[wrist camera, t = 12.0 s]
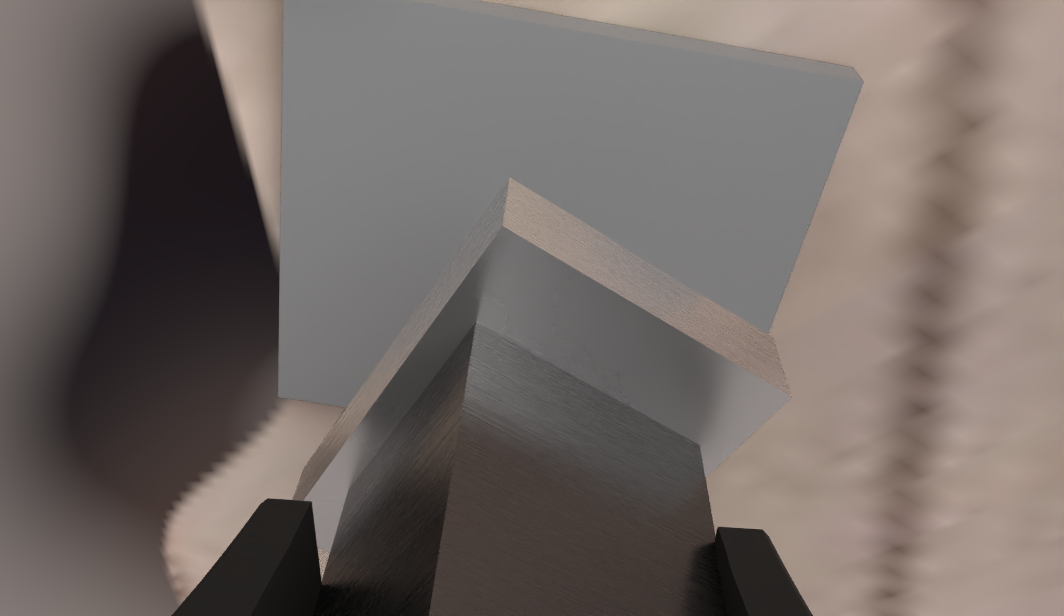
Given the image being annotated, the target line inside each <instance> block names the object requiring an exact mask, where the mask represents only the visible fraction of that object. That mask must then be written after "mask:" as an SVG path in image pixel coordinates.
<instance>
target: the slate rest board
mask: <svg viewBox="0 0 1064 616" xmlns="http://www.w3.org/2000/svg"><path fill="white" fill-rule="evenodd" d="M863 82H864V81H863V80H862V78H861V77H860V76H859V74H858V73H857V72H856V71H855V69H854V68H853V67H848V66H842V65H837V64H831V63H825V62H820V61H814V60H809V59H803V58H797V57H792V56H786V55H781V54H775V53H770V52H764V51H758V50H753V49H747V48H742V47H736V46H730V45H725V44H719V43H714V42H708V41H702V40H697V39H691V38H686V37H680V36H674V35H669V34H663V33H658V32H652V31H646V30H641V29H635V28H630V27H624V26H618V25H613V24H607V23H602V22H596V21H590V20H585V19H579V18H574V17H568V16H562V15H557V14H551V13H546V12H540V11H534V10H529V9H523V8H518V7H512V6H506V5H501V4H495V3H490V2H484V1H479V0H283V60H282V136H281V213H280V291H279V292H280V293H279V367H278V368H279V369H278V375H279V376H278V397H280V398H286V399H293V400H300V401H306V402H313V403H319V404H326V405H333V406H339V407H346V408H347V407H348V405H349V404H350V402H351V401H352V399H353V398H354V397H355V395H356V394H357V392H358V391H359V390H360V388H361V387H362V385H363V384H364V382H365V381H366V380H367V378H368V377H369V375H370V374H371V373H372V371H373V370H374V368H375V367H376V365H377V364H378V363H379V361H380V360H381V358H382V357H383V356H384V354H385V353H386V351H387V350H388V348H389V347H390V346H391V344H392V343H393V341H394V340H395V339H396V337H397V336H398V334H399V333H400V331H401V330H402V329H403V327H404V326H405V324H406V323H407V322H408V320H409V319H410V317H411V316H412V314H413V313H414V312H415V310H416V309H417V307H418V306H419V305H420V303H421V302H422V300H423V299H424V298H425V296H426V295H427V293H428V292H429V290H430V289H431V288H432V286H433V285H434V283H435V282H436V281H437V279H438V278H439V276H440V275H441V273H442V272H443V271H444V269H445V268H446V266H447V265H448V264H449V262H450V261H451V259H452V258H453V256H454V255H455V254H456V252H457V251H458V249H459V248H460V247H461V245H462V244H463V242H464V241H465V239H466V238H467V237H468V235H469V234H470V232H471V231H472V230H473V228H474V227H475V225H476V224H477V222H478V221H479V220H480V218H481V217H482V215H483V214H484V213H485V211H486V210H487V208H488V207H489V205H490V204H491V203H492V201H493V200H494V198H495V197H496V196H497V194H498V193H499V191H500V190H501V188H502V187H503V186H504V184H505V183H506V181H507V180H508V179H509V177H510V178H512V179H513V180H515V181H517V182H518V183H520V184H522V185H523V186H525V187H527V188H528V189H530V190H532V191H533V192H535V193H536V194H538V195H540V196H541V197H543V198H545V199H546V200H548V201H550V202H551V203H553V204H554V205H556V206H558V207H559V208H561V209H563V210H564V211H566V212H568V213H569V214H571V215H573V216H574V217H576V218H577V219H579V220H581V221H582V222H584V223H586V224H587V225H589V226H591V227H592V228H594V229H595V230H597V231H599V232H600V233H602V234H604V235H605V236H607V237H609V238H610V239H612V240H614V241H615V242H617V243H618V244H620V245H622V246H623V247H625V248H627V249H628V250H630V251H632V252H633V253H635V254H636V255H638V256H640V257H641V258H643V259H645V260H646V261H648V262H650V263H651V264H653V265H655V266H656V267H658V268H659V269H661V270H663V271H664V272H666V273H668V274H669V275H671V276H673V277H674V278H676V279H677V280H679V281H681V282H682V283H684V284H686V285H687V286H689V287H691V288H692V289H694V290H696V291H697V292H699V293H700V294H702V295H704V296H705V297H707V298H709V299H710V300H712V301H714V302H715V303H717V304H718V305H720V306H722V307H723V308H725V309H727V310H728V311H730V312H732V313H733V314H735V315H737V316H738V317H740V318H741V319H743V320H745V321H746V322H748V323H750V324H751V325H753V326H755V327H756V328H758V329H759V330H761V331H763V332H764V333H766V334H768V333H769V330H770V328H771V325H772V322H773V320H774V317H775V314H776V312H777V309H778V306H779V304H780V301H781V299H782V296H783V293H784V291H785V288H786V285H787V283H788V280H789V277H790V275H791V272H792V270H793V267H794V264H795V262H796V259H797V256H798V254H799V251H800V248H801V246H802V243H803V240H804V238H805V235H806V233H807V230H808V227H809V225H810V222H811V219H812V217H813V214H814V211H815V209H816V206H817V204H818V201H819V198H820V196H821V193H822V190H823V188H824V185H825V182H826V180H827V177H828V174H829V172H830V169H831V167H832V164H833V161H834V159H835V156H836V153H837V151H838V148H839V145H840V143H841V140H842V138H843V135H844V132H845V130H846V127H847V124H848V122H849V119H850V116H851V114H852V111H853V109H854V106H855V103H856V101H857V98H858V95H859V93H860V90H861V87H862V85H863Z"/></svg>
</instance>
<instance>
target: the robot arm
mask: <svg viewBox="0 0 1064 616" xmlns="http://www.w3.org/2000/svg"><path fill="white" fill-rule="evenodd" d="M715 548H716V554H717V560H718V566H719V572H720V578H721V584H722V590H723V596H724V602H725V606H726V610H727V614H728V616H813V615H812V613H811V612H810V610H809V608H808V607H807V605H806V603H805V601H804V600H803V598H802V596H801V595H800V593H799V591H798V589H797V588H796V586H795V584H794V582H793V581H792V579H791V577H790V575H789V573H788V572H787V570H786V568H785V566H784V564H783V562H782V561H781V559H780V557H779V555H778V553H777V551H776V549H775V547H774V545H773V544H772V542H771V540H770V538H769V536H768V535H767V534H766V533H765V532H764V531H763V530H760V529H744V528H728V527H718V528H717V533H716V537H715ZM321 586H322V583H321V574H320V566H319V557H318V549H317V541H316V532H315V524H314V515H313V507H312V501H299V500H283V499H267V500H265V501H264V502H263V503H261V504H260V505H259V507H258V508H257V509H256V511H255V512H254V514H253V515H252V516H251V518H250V519H249V520H248V522H247V523H246V524H245V526H244V527H243V528H242V530H241V531H240V532H239V534H238V535H237V536H236V538H235V539H234V540H233V541H232V543H231V544H230V545H229V547H228V548H227V549H226V551H225V552H224V553H223V554H222V556H221V557H220V558H219V559H218V561H217V562H216V563H215V564H214V566H213V567H212V568H211V569H210V571H209V572H208V573H207V574H206V576H205V577H204V578H203V579H202V581H201V582H200V583H199V584H198V585H197V586H196V588H195V589H194V590H193V591H192V592H191V594H190V595H189V596H188V597H187V598H186V599H185V601H184V602H183V603H182V604H181V605H180V606H179V608H178V609H177V610H176V611H175V612H174V614H173V615H172V616H313V614H314V611H315V607H316V604H317V600H318V597H319V593H320V590H321Z"/></svg>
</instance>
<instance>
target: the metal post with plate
mask: <svg viewBox="0 0 1064 616" xmlns="http://www.w3.org/2000/svg"><path fill="white" fill-rule="evenodd" d="M791 397H792V396H791V393H790V390H789V386H788V383H787V380H786V377H785V374H784V371H783V368H782V364H781V361H780V358H779V355H778V352H777V349H776V345H775V342H774V339H773V337H771V336H769V335H768V334H766V333H764V332H763V331H761V330H759V329H758V328H756V327H755V326H753V325H751V324H750V323H748V322H746V321H745V320H743V319H741V318H740V317H738V316H737V315H735V314H733V313H732V312H730V311H728V310H727V309H725V308H723V307H722V306H720V305H718V304H717V303H715V302H714V301H712V300H710V299H709V298H707V297H705V296H704V295H702V294H700V293H699V292H697V291H696V290H694V289H692V288H691V287H689V286H687V285H686V284H684V283H682V282H681V281H679V280H677V279H676V278H674V277H673V276H671V275H669V274H668V273H666V272H664V271H663V270H661V269H659V268H658V267H656V266H655V265H653V264H651V263H650V262H648V261H646V260H645V259H643V258H641V257H640V256H638V255H636V254H635V253H633V252H632V251H630V250H628V249H627V248H625V247H623V246H622V245H620V244H618V243H617V242H615V241H614V240H612V239H610V238H609V237H607V236H605V235H604V234H602V233H600V232H599V231H597V230H595V229H594V228H592V227H591V226H589V225H587V224H586V223H584V222H582V221H581V220H579V219H577V218H576V217H574V216H573V215H571V214H569V213H568V212H566V211H564V210H563V209H561V208H559V207H558V206H556V205H554V204H553V203H551V202H550V201H548V200H546V199H545V198H543V197H541V196H540V195H538V194H536V193H535V192H533V191H532V190H530V189H528V188H527V187H525V186H523V185H522V184H520V183H518V182H517V181H515V180H513V179H512V178H510V177H509V179H508V180H507V181H506V183H505V184H504V186H503V187H502V188H501V190H500V191H499V193H498V194H497V196H496V197H495V198H494V200H493V201H492V203H491V204H490V205H489V207H488V208H487V210H486V211H485V213H484V214H483V215H482V217H481V218H480V220H479V221H478V222H477V224H476V225H475V227H474V228H473V230H472V231H471V232H470V234H469V235H468V237H467V238H466V239H465V241H464V242H463V244H462V245H461V247H460V248H459V249H458V251H457V252H456V254H455V255H454V256H453V258H452V259H451V261H450V262H449V264H448V265H447V266H446V268H445V269H444V271H443V272H442V273H441V275H440V276H439V278H438V279H437V281H436V282H435V283H434V285H433V286H432V288H431V289H430V290H429V292H428V293H427V295H426V296H425V298H424V299H423V300H422V302H421V303H420V305H419V306H418V307H417V309H416V310H415V312H414V313H413V314H412V316H411V317H410V319H409V320H408V322H407V323H406V324H405V326H404V327H403V329H402V330H401V331H400V333H399V334H398V336H397V337H396V339H395V340H394V341H393V343H392V344H391V346H390V347H389V348H388V350H387V351H386V353H385V354H384V356H383V357H382V358H381V360H380V361H379V363H378V364H377V365H376V367H375V368H374V370H373V371H372V373H371V374H370V375H369V377H368V378H367V380H366V381H365V382H364V384H363V385H362V387H361V388H360V390H359V391H358V392H357V394H356V395H355V397H354V398H353V399H352V401H351V402H350V404H349V405H348V407H347V408H346V409H345V411H344V412H343V414H342V415H341V416H340V418H339V419H338V421H337V422H336V424H335V425H334V426H333V428H332V429H331V431H330V432H329V433H328V435H327V436H326V438H325V439H324V441H323V442H322V443H321V445H320V446H319V448H318V449H317V450H316V452H315V453H314V455H313V456H312V458H311V459H310V460H309V462H308V463H307V465H306V466H305V467H304V469H303V472H302V475H301V477H300V480H299V483H298V486H297V489H296V491H295V494H294V497H293V500H299V501H312V507H313V515H314V524H315V532H316V541H317V547H319V548H321V549H323V550H325V551H328V552H330V555H329V558H328V562H327V565H326V568H325V572H324V575H323V579H322V582H321V583H322V586H321V590H320V593H319V597H318V600H317V604H316V607H315V611H314V614H313V616H728V614H727V610H726V606H725V602H724V596H723V590H722V584H721V578H720V572H719V566H718V560H717V554H716V548H715V531H714V525H713V520H712V514H711V508H710V502H709V496H708V490H707V484H706V477H707V476H708V475H709V474H710V473H711V472H712V471H713V470H714V469H716V468H717V467H718V466H719V465H720V464H721V463H722V462H723V461H724V460H725V459H726V458H727V457H728V456H729V455H730V454H732V453H733V452H734V451H735V450H736V449H737V448H738V447H739V446H740V445H741V444H742V443H743V442H744V441H745V440H746V439H747V438H749V437H750V436H751V435H752V434H753V433H754V432H755V431H756V430H757V429H758V428H759V427H760V426H761V425H762V424H763V423H764V422H766V421H767V420H768V419H769V418H770V417H771V416H772V415H773V414H774V413H775V412H776V411H777V410H778V409H779V408H780V407H781V406H783V405H784V404H785V403H786V402H787V401H788V400H789V399H790V398H791Z"/></svg>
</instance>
